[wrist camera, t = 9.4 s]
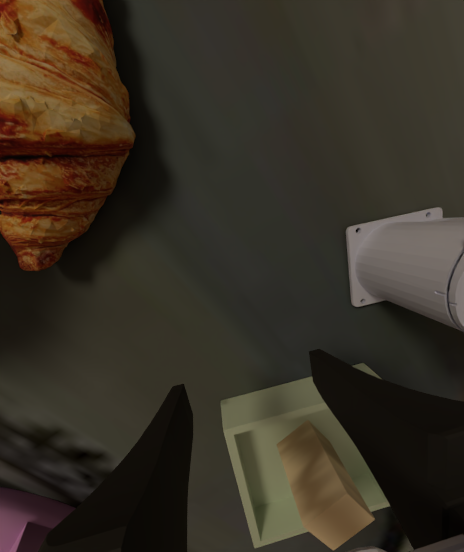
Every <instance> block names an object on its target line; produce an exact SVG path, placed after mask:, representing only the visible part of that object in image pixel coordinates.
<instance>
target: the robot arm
mask: <svg viewBox="0 0 464 552" xmlns="http://www.w3.org/2000/svg"><path fill="white" fill-rule="evenodd" d="M426 214H427V216H426ZM357 228H358V232H357V233H356V229H357ZM346 241H347V254H348V267H349V280H350V293H351V303H352V305H353V306H355V307H360V306H364V305H368V304H372V303H376V302H381V301H385V300H387V301H390V302H392V303H394V304H397V305H399V306H402V307H404V308H407V309H409V310H411V311H414V312H416V313H419V314H421V315H424V316H426V317H428V318H431V319H433V320H436V321H438V322H441V323H443V324H445V325H448V326H450V327H453V328H455V329H458V330H460V331H462V332H464V217H462V218H442V209H441V208H431V209H427V210H422V211H418V212H413V213H409V214H404V215H399V216H395V217H390V218H386V219H381V220H377V221H372V222H368V223H363V224H358V225H354V226H350V227H348V228H347V230H346ZM362 299H363V301H362V302H361V300H362ZM309 355H310V363H311V370H312V378H313V383H314V385H315V386H316V388H317V390H318V392H319V394H320V395H321V397H322V399H323V400H324V402H325V403H326V405H327V406H328V408H329V409H330V410H331V412H332V413H333V415H334V416H335V417H336V419H337V420H338V421H339V423H340V424H341V426H342V427H343V428H344V430H345V431H346V433H347V434H348V435H349V437H350V438H351V440H352V441H353V443H354V444H355V446H356V447H357V449H358V451H359V452H360V454H361V456H362V457H363V459H364V461H365V462H366V464H367V466H368V467H369V469H370V471H371V473H372V474H373V476H374V478H375V480H376V481H377V483H378V485H379V486H380V488H381V490H382V492H383V493H384V495H385V497H386V499H387V501H388V503H389V504H390V506H391V508H392V510H393V512H394V513H395V515H396V517H397V519H398V521H399V522H400V524H401V526H402V528H403V530H404V532H405V534H406V536H407V537H408V539H409V541H410V543H411V545H412V547H413V549H414V550H412V551H409V552H464V402H462V401H456V400H451V399H447V398H442V397H438V396H434V395H430V394H426V393H422V392H418V391H415V390H412V389H408V388H405V387H402V386H399V385H396V384H393V383H390V382H388V381H385V380H382V379H380V378H377V377H375V376H372V375H370V374H368V373H366V372H363V371H361V370H359V369H357V368H355V367H353V366H351V365H349V364H347V363H345V362H343V361H341V360H339V359H337V358H335V357H334V356H332V355H330V354H328V353H326V352H324V351H322V350H320V349H317V350H313V351H309ZM192 441H193V413H192V410H191V406H190V403H189V400H188V396H187V393H186V390H185V386H184V384H181V385H177V386H173V387H172V388H171V390H170V392H169V393H168V395H167V397H166V399H165V400H164V402H163V404H162V405H161V407H160V409H159V410H158V412H157V414H156V415H155V417H154V418H153V420H152V421H151V423H150V425H149V426H148V427H147V429H146V430H145V432H144V433H143V435H142V436H141V438H140V439H139V440H138V442H137V443H136V444H135V446H134V447H133V448H132V449H131V451H130V452H129V453H128V454H127V456H126V457H125V458H124V459H123V460H122V461H121V463H120V464H119V465H118V466H117V467H116V468H115V469H114V470H113V472H112V473H111V474H110V475H109V476H108V477H107V478H106V479H105V480H104V481H103V482H102V483H101V484H100V485H99V486H98V488H97V489H96V490H95V491H94V492H93V493H91V494H90V495H89V496H88V497H87V498H86V499H85V500H84V501H83V502H82V503H81V504H80V505H79V506H78V507H77V508H76V509H75V510H73V511H72V512H71V513H70V514H69V515H68V516H67V517H66V518H64V519H63V520H62V521H61V522H60V523H59V524H58V525H57V526H55V527H54V528H53V529H52V530H51V531H50V532H48V534H47V535H46V537H45V539H44V541H43V543H42V545H41V547H40V548H39V550H38V552H187V497H188V482H189V472H190V462H191V452H192ZM347 552H386V551H384V550H382V549H379V548H376V547H374V546H369V547H362V548H356V549H353V550H350V551H347Z"/></svg>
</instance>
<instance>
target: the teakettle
mask: <svg viewBox="0 0 464 552" xmlns="http://www.w3.org/2000/svg"><path fill="white" fill-rule="evenodd" d="M75 509H76V508H74V507H72V506H70V505H67V504H65V503H62V502H59V501H56V500H53V499H50V498H46V497H43V496H39V495H35V494H32V493H28V492H24V491H20V490H15V489H10V488H4V487H0V552H38V550H39V548H40V547H41V545H42V543H43V541H44V539H45V537H46V535H47V534H48V532H50V531H51V530H52V529H53V528H54V527H55V526H57V525H58V524H59V523H60V522H61V521H62V520H63V519H64V518H66V517H67V516H68V515H69V514H70V513H71V512H72V511H73V510H75Z"/></svg>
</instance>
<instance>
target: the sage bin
mask: <svg viewBox="0 0 464 552" xmlns="http://www.w3.org/2000/svg"><path fill="white" fill-rule="evenodd" d="M353 367H355V368H357V369H359V370H361V371H363V372H366V373H368V374H370V375H372V376H375V377H377V378H380V377H379V376H378V375H377V374H376V373H374V372H373V371H372V370H371V369H370V368H369V367H368V366H366V365H365V364H364V363H361V364H357V365H353ZM380 379H381V378H380ZM382 380H383V379H382ZM221 411H222V422H223V431H224V435H225V439H226V443H227V446H228V450H229V454H230V458H231V462H232V465H233V469H234V473H235V477H236V480H237V484H238V488H239V492H240V495H241V499H242V503H243V507H244V511H245V514H246V518H247V522H248V526H249V529H250V533H251V537H252V541H253V544H254V548H257V547H261V546H264V545H267V544H270V543H273V542H276V541H280V540H283V539H286V538H289V537H292V536H295V535H299V534H302V533H305V532H308V530H307V529H306V528H304V527H303V524H302V521H301V518H300V515H299V512H298V509H297V506H296V503H295V500H294V496H293V493H292V490H291V487H290V484H289V481H288V478H287V475H286V472H285V469H284V466H283V463H282V460H281V457H280V454H279V451H278V448H277V445H276V444H278V443H279V442H280V441H281V440H283V439H284V438H285V437H286V436H288V435H289V434H290V433H291V432H293V431H294V430H295V429H297V428H298V427H299V426H300V425H302V424H303V423H304V422H305V421H307V420H309V421H310V422H311V423H312V424H313V425H314V426H315V427H316V428H317V429H318V430H319V431H320V432H321V433H322V434H323V435H324V436H325V437H326V438H327V439H328V440H329V441H330V443H331V444H332V446H333V448H334V450H335V451H336V453H337V455H338V456H339V458H340V460H341V462H342V463H343V465H344V467H345V469H346V470H347V472H348V474H349V475H350V477H351V479H352V481H353V482H354V484H355V486H356V488H357V489H358V491H359V493H360V494H361V496H362V498H363V500H364V501H365V503H366V505H367V507H368V508H369V510H370V512H372V511H375V510H378V509H381V508H384V507H388V506H390V504H389V503H388V501H387V499H386V497H385V495H384V493H383V492H382V490H381V488H380V486H379V485H378V483H377V481H376V480H375V478H374V476H373V474H372V473H371V471H370V469H369V467H368V466H367V464H366V462H365V461H364V459H363V457H362V456H361V454H360V452H359V451H358V449H357V447H356V446H355V444H354V443H353V441H352V440H351V438H350V437H349V435H348V434H347V433H346V431H345V430H344V428H343V427H342V426H341V424H340V423H339V421H338V420H337V419H336V417H335V416H334V415H333V413H332V412H331V410H330V409H329V408H328V406H327V405H326V403H325V402H324V400H323V399H322V397H321V395H320V394H319V392H318V390H317V388H316V386H315V385H314V383H313V378H312V377H308V378H304V379H301V380H297V381H293V382H289V383H285V384H282V385H278V386H274V387H270V388H267V389H263V390H259V391H255V392H252V393H248V394H244V395H240V396H236V397H233V398H229V399H225V400H221Z"/></svg>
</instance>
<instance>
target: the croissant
mask: <svg viewBox="0 0 464 552" xmlns="http://www.w3.org/2000/svg"><path fill="white" fill-rule="evenodd" d="M113 46H114V40H113V35H112V29H111V25H110V23H109V20H108V17H107V14H106V11H105V9H104V6H103V0H0V211H1V212H2V214H1V215H0V232H1V234H2V235H3V237H4V238H5V240H6V241H7V242H8V243H9V245H10V247H11V248H12V250H13V251H14V253H15V254H16V256H17V258H18V263H19V266H20V268H21V269H23V270H26V271H40V270H44V269H46V268H48V267H51V266H52V265H53V264H54V263H55V262H57V261H58V260H59V259H60V257H61V255H62V252H63V250H64V248H65V247H67V245H68V243H69V242H70V241H72V240H74V239H76V238H78V237H79V236H81V235H82V234H83V233H84V232H86V231H87V230H88V228H89V226H90V224H91V223H92V222H93V221H94V218H95V216H96V215H97V213H98V211H99V209H100V208H101V207H102V206H103V204H104V202H105V200H106V198H107V196H108V195H110V194H112V192H113V190H114V188H115V186H116V182H117V178H118V176H119V174H120V171H121V168H122V166H123V164H124V162H125V160H126V159H127V157H128V155H129V150H130V149H131V148H133V143H134V139H135V137H136V136H135V133H134V131H133V129H132V127H131V125H130V124H129V123H130V115H129V94H128V91H127V89H126V87H125V86H124V85H123V84H122V83H121V81H120V78H119V74H118V72H117V70H116V58H115V54H114V50H113Z"/></svg>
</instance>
